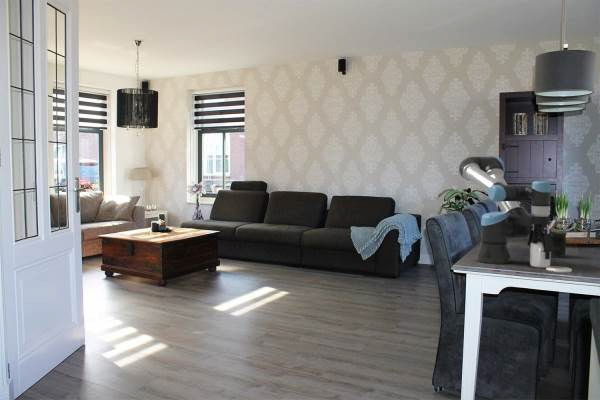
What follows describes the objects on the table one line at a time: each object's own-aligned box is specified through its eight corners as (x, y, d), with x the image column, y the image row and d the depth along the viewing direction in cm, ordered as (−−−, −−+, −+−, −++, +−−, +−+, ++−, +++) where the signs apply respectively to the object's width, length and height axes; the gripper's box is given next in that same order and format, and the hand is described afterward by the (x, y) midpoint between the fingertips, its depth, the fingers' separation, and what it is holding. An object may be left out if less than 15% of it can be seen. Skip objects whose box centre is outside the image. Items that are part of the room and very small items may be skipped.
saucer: (553, 272, 216) (554, 270, 216) (541, 268, 226) (541, 266, 226) (576, 272, 217) (576, 270, 217) (563, 267, 227) (563, 265, 227)
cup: (550, 265, 233) (550, 243, 232) (550, 269, 222) (550, 246, 222) (530, 263, 237) (530, 241, 236) (529, 268, 226) (529, 245, 225)
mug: (564, 258, 249) (565, 234, 249) (532, 255, 258) (532, 232, 257) (567, 255, 258) (568, 232, 257) (536, 252, 267) (537, 230, 266)
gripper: (563, 217, 217) (561, 269, 219) (535, 213, 240) (534, 259, 242) (546, 217, 217) (544, 269, 218) (520, 213, 240) (519, 259, 241)
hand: (539, 264), depth 230 cm, fingers closed on cup, 10 cm apart
